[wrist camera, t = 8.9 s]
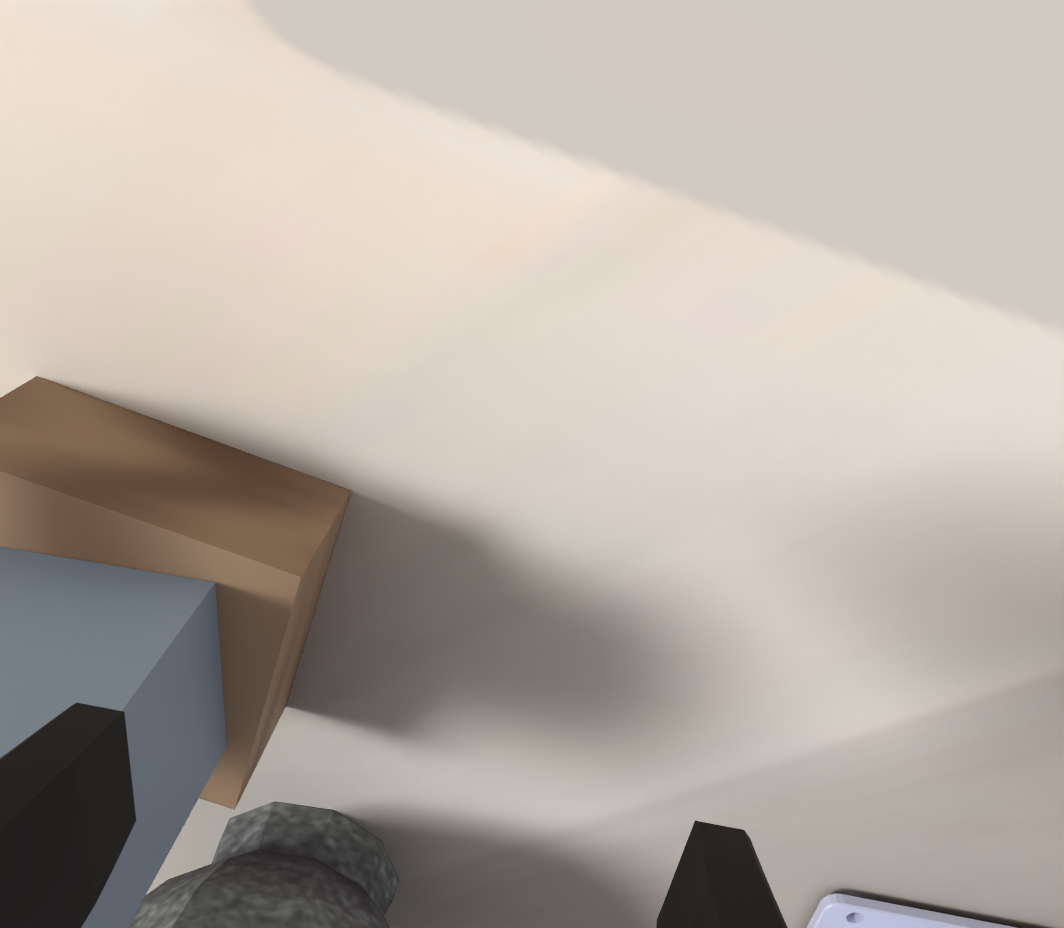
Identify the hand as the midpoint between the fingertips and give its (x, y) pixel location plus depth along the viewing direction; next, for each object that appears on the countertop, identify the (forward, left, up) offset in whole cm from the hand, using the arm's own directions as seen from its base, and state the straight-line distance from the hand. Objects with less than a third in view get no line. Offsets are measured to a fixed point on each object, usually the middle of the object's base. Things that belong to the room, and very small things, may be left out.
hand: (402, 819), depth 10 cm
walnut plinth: (+8, +5, -11) cm, 15 cm away
